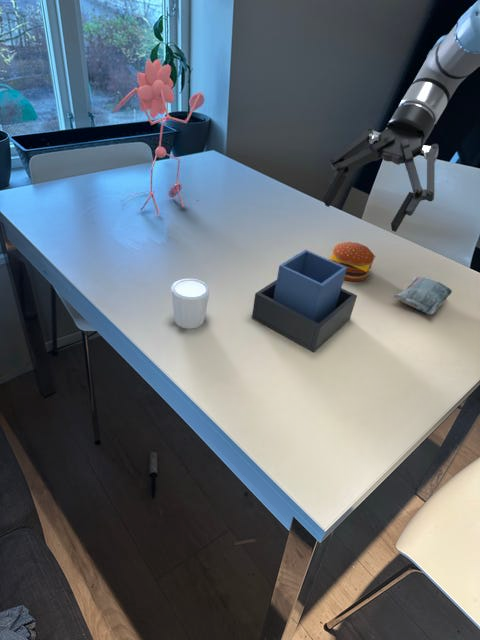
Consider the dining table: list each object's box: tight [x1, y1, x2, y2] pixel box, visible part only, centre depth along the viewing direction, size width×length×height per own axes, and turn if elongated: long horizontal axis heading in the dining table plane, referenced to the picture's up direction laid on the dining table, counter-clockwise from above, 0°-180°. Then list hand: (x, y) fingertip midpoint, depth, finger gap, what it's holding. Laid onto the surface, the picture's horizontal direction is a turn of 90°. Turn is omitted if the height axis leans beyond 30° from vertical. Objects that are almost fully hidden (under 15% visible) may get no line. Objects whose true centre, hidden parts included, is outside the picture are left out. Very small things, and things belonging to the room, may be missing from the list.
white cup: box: [170, 278, 211, 330], centre depth 82 cm, size 7×7×7 cm
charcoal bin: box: [251, 279, 358, 353], centre depth 86 cm, size 14×14×6 cm
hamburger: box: [328, 241, 377, 282], centre depth 102 cm, size 9×10×7 cm
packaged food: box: [393, 276, 453, 316], centre depth 95 cm, size 9×12×5 cm
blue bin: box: [273, 249, 347, 323], centre depth 84 cm, size 9×9×11 cm
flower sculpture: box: [111, 58, 205, 217], centre depth 113 cm, size 15×26×35 cm, turn 142°
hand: (358, 215), depth 81 cm, fingers open, 13 cm apart
